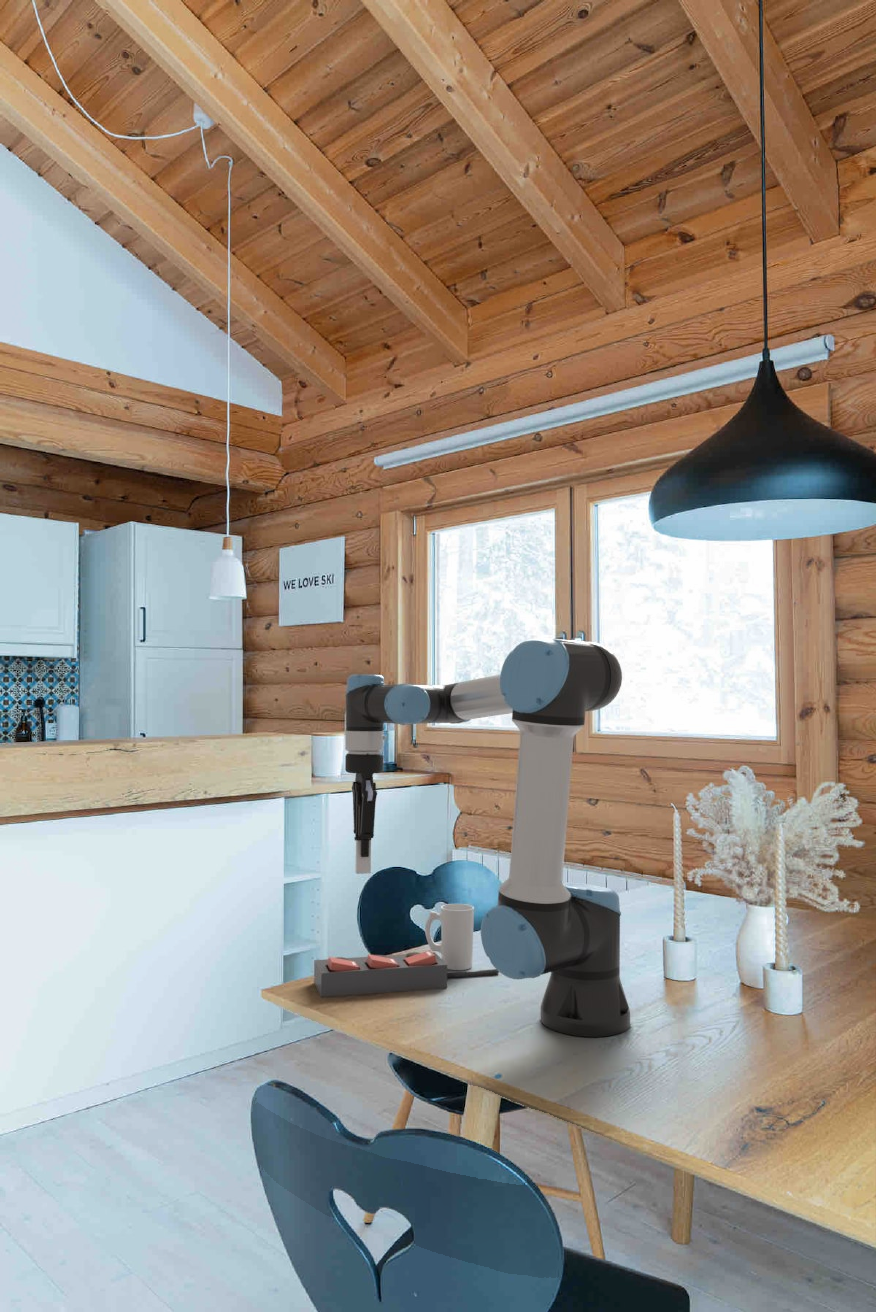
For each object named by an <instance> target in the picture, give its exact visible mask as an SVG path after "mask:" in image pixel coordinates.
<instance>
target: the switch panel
mask: <svg viewBox="0 0 876 1312" xmlns="http://www.w3.org/2000/svg"><path fill="white" fill-rule="evenodd" d="M431 952H432V953H433V954H434V955H435V958H436V963H433V964H430V965H420V966H407V965H406V963H405V959H404V958H407V957H410V956H413V955H416V954H419V953H420V952H416V951H413V952H409V953H405V954H391V955H383V954H374V955H375V956H380V957H385V958H390V959H394V960H395V961H396V962H397V964H398V967H392V968H373V967H370V966H369V965H368V963H367V962H366V960H367V956H361V957H359V956H358V957H342V956H340V957H335V958H338V959H344V960H349V961H354V962H356V964H357V965H358V966H359V969H358V970H348V971H334V970H330V968H329V967H328V965H327V962H328V959H329V958H328V959H315V960H314V964H313V965H314V966H313V967H314V968H313V985H314V986H315V988H316V990H317V991H318V994H319V996H320V998H329V997H331V998H332V997H340V996H341V997H342V996H343V997H344V996H356V995H357V996H358V995H368V994H369V995H370V994H383V993H393V992H394V993H395V992H407V991H408V992H409V991H421V990H422V991H423V990H432V989H433V990H434V989H447V988H448V979H451V978H452V979H453V978H465V977H479V976H481V977H482V976H493V975H498V974H500V972H499V971H498V970H497V969H496V968H492V969H491V968H490V969H478V970H477V969H476V970H467V971H466V970H462V971H452V972H451V971H450V972H448V969H447V964H446V963H445V962H444V961H443V960H442V957H440V956H439V955H438V954H437V952H436V951H431ZM314 977H315V978H314Z"/></svg>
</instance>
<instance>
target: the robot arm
mask: <svg viewBox="0 0 876 1312" xmlns="http://www.w3.org/2000/svg"><path fill="white" fill-rule="evenodd" d="M346 680H347V681H346V692H345V694H344V695H345V736H344V737H345V738H344V739H345V740H344V741H345V746H344V747H345V749H344V750H345V751H347V753H346V755H345V760H344V761H345V766H344V767H345V768H344V770H345V772H347V773H349V774H355V778H354V781H352V786H351V790H352V791H351V792H352V808H353V809H352V811H353V813H352V814H353V834H354V841H355V873H356V874H358V875H361V874H363V875H364V874H371V866H372V865H371V863H372V862H371V861H372V860H371V859H372V855H371V854H372V846H371V845H372V839H373V838H374V836H375V835H374V833H375V820H376V819H375V816H376V803H377V795H378V791H377V784H376V782H374V774H380V773H383V772H384V758H385V757H384V755H383V753H381V752H383V750H384V741H386V740H387V736H386V735H384V733H385V732H384V731H385V727H384V724H392V725H393V724H394V725H395V724H396V725H400V726H405V725H406V726H408V725H409V726H410V725H411V726H412V725H416V724H435V723H436V724H453V725H454V724H461V723H462V724H463V723H468V722H469V721H471V720H475V719H481V718H488V717H489V718H490V717H495V716H501V715H502V716H503V715H509V714H511V715H512V716H511V722H513V724H514V725H515V726H516V727H517V728H518V731H519V732H520V733H519V746H518V757H517V771H516V782H515V797H514V799H515V800H514V810H513V811H514V812H513V823H512V824H513V825H512V833H511V834H512V835H511V836H512V837H511V847H510V848H511V850H510V859H509V861H510V863H509V874H508V875H509V876H508V877H507V879H506V880H504V882H502V883H501V884H500V885H499V886H498V896H497V905H496V906H493V907H491V908H490V909H489V910H488V911H487V913H485V914H484V916H483V917H482V921H481V924H480V938H481V944H482V947H483V950H484V953H485V955H486V957H488V958H489V960H490V963H491V965H492V966H493V967H494V969H497V970H498V971H499V974H501V975H503V976H504V977H506V978H509V979H513V980H524V979H535V978H538V977H540V976H541V975H545V974H548V973H550V977H549V979H548V982H547V986H546V989H545V992H544V995H543V998H542V1001H541V1004H540V1019H539V1020H540V1022H541V1024H542V1025H544V1026H545V1027H547V1028H549V1029H551V1030H552V1031H555V1032H558V1033H562V1034H566V1035H570V1036H571V1035H572V1036H577V1037H587V1038H588V1037H590V1038H591V1037H597V1038H598V1037H608V1036H613V1035H618V1034H621V1033H623V1032H625V1031H627V1030H628V1029H629V1028H630V1026H631V1011H630V1010H631V1009H630V1007H629V1003H628V1001H627V997H626V994H625V991H624V988H623V984H622V981H621V978H620V977H621V975H620V970H621V969H620V968H621V966H620V965H621V962H620V961H621V954H620V953H621V950H620V949H621V915H622V912H621V909H620V896H619V894H618V893H617V892H616V891H615V890H613V889H611V888H609V887H605V886H599V885H594V884H587V883H581V882H580V883H578V882H567V881H565V882H564V881H563V877H564V865H565V864H564V863H565V854H566V853H565V851H566V840H567V836H566V835H567V826H568V817H569V816H568V813H569V804H570V803H569V802H570V789H571V775H572V774H571V773H572V766H573V765H572V763H573V752H574V751H573V749H574V737H575V735H576V734H577V733H578V732H579V731H581V730H582V729H583V728H584V727H585V722H586V720H585V719H586V712H592V711H597V710H601V709H603V708H604V707H606V706H608V705H609V704H611V703H612V702H613V701H614V700H615V698H617V695H618V694H619V692H620V689H621V688H622V681H623V671H622V668H621V664H620V663H619V660H618V658H617V657H616V656H615V654H614V653H613V652H612V651H611V650H610V649H609V648H607V647H605V646H604V645H602V644H600V643H598V642H592V641H582V640H581V641H579V640H578V641H577V640H569V639H568V640H567V639H558V638H551V637H547V638H531V639H527V640H525V641H521V642H520V643H519V644H517V645H516V646H515V648H514V649H513V650H511V651H509V654H508V655H507V656H506V658H505V659H504V661H503V664H502V666H501V670H500V674H495V675H492V676H491V675H490V676H485V677H481V678H475V679H471V680H466V681H465V680H464V681H461V682H455V683H450V684H442V685H441V684H439V685H432V684H431V685H430V684H413V683H400V684H399V683H398V684H386V683H385V677H384V676H383V675H381V674H351V675H349V676H347V679H346Z"/></svg>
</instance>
